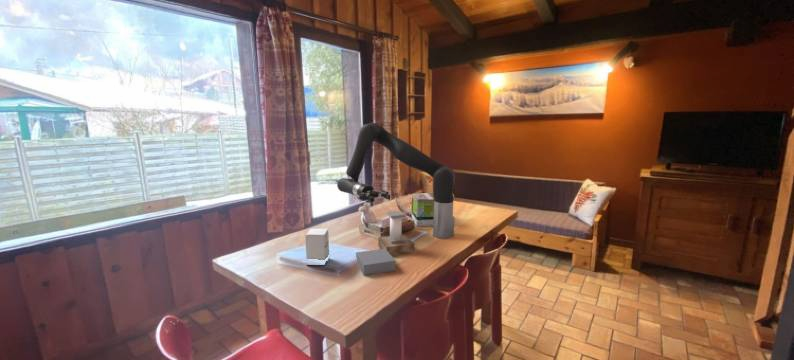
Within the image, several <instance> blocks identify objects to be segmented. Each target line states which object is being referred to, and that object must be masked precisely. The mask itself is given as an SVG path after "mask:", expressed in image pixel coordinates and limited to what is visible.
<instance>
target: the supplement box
mask: <svg viewBox="0 0 794 360" xmlns="http://www.w3.org/2000/svg"><path fill="white" fill-rule="evenodd" d="M305 251H306V252H305V254H306V258H307V259H318V260H325V259H326V258H327V257H328V255H329V256H330V239H329V228H310V229H309V230H308V232H306V233H305ZM306 258H305V259H306ZM307 259H306V260H307Z"/></svg>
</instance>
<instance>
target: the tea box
mask: <svg viewBox="0 0 794 360" xmlns="http://www.w3.org/2000/svg"><path fill="white" fill-rule="evenodd" d="M411 195H412V197H411V219H412V221H413V220H414V221H413V222H414V223H415V226H417V227H429V226H430V227H431V226H432V227H433V215H434V196H433V195H431V194H430V193H427V192H425V193H423V192H421V193H419V192H418V193H411Z"/></svg>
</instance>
